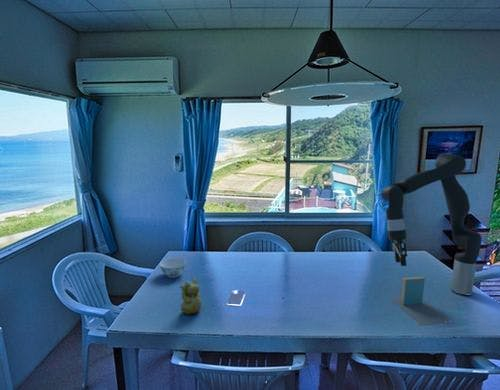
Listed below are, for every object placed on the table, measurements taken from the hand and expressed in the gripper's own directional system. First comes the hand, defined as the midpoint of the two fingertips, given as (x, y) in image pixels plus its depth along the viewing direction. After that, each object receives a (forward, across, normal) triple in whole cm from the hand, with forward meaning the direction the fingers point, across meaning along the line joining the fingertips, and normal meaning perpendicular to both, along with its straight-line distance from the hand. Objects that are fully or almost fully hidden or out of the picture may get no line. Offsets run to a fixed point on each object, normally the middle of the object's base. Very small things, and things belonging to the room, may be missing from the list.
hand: (400, 263), depth 142 cm
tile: (+21, +8, -4) cm, 23 cm away
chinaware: (+1, +16, +120) cm, 121 cm away
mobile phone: (+11, -2, +79) cm, 80 cm away
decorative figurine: (+11, -18, +96) cm, 99 cm away
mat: (+23, +2, -6) cm, 24 cm away
